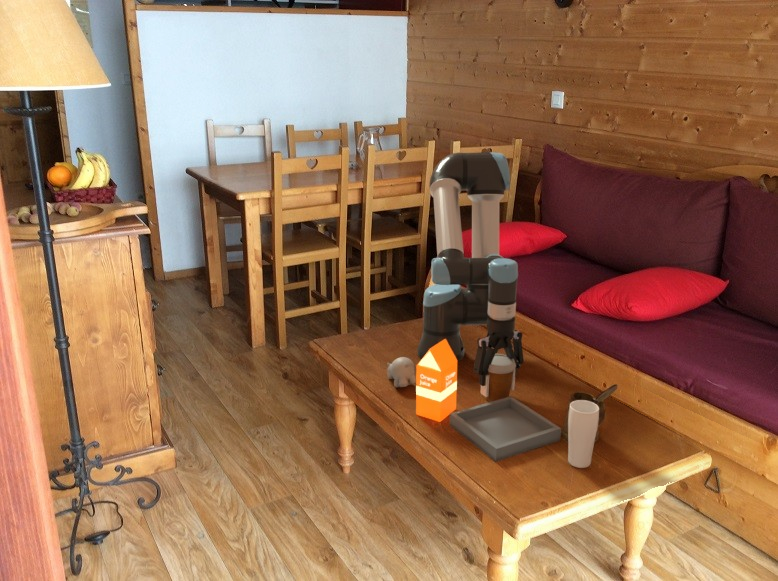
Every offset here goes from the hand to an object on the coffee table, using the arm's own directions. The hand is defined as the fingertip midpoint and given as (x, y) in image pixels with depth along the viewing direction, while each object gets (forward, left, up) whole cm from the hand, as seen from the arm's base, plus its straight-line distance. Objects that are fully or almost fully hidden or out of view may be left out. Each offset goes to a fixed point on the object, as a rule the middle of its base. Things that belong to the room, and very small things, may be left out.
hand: (497, 391), depth 197 cm
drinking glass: (+36, -3, -3) cm, 36 cm away
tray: (+16, -10, -2) cm, 19 cm away
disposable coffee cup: (0, 0, -3) cm, 3 cm away
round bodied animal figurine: (-22, -19, -3) cm, 29 cm away
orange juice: (-2, -19, -3) cm, 19 cm away
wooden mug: (+29, +6, -3) cm, 30 cm away
